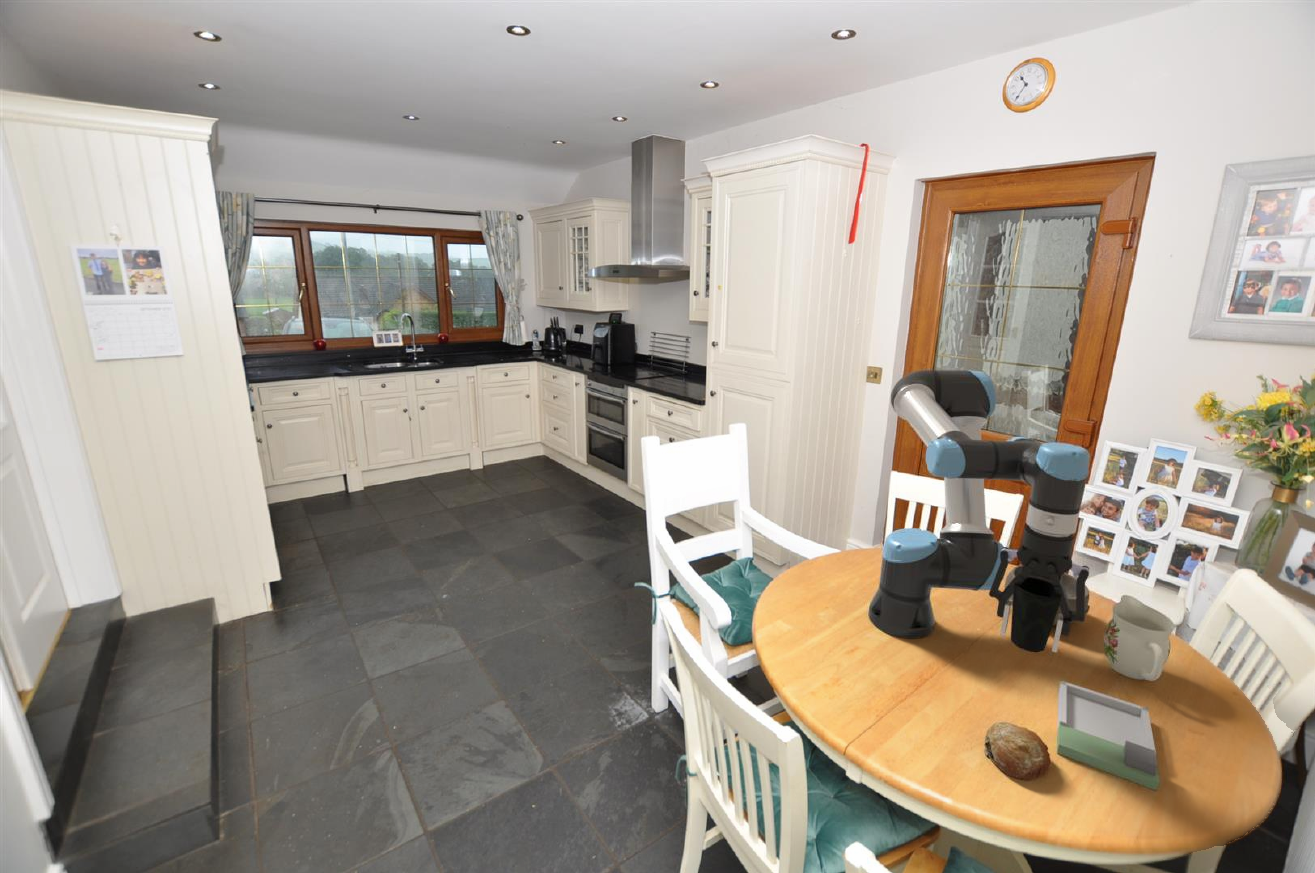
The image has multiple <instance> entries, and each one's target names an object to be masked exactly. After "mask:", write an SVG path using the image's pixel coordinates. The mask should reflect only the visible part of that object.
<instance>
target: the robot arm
mask: <svg viewBox="0 0 1315 873" xmlns="http://www.w3.org/2000/svg"><path fill="white" fill-rule="evenodd" d="M890 403H891V406H892V409H893V410H894V412H895V413H896V415H897V416H898V417H899V418H900V419H902V420H904V421H907V422H908V423H909V425H910V426H911V427H912V429H913V431H915V433H916V435H917V436H918V437H919V438H920V439H921V441H922V442H923V444H924V445H925V446H926V452H925V464H926V465H927V471H928V472H929V474H930V475H931V476H933V477H937V478H938V477H939V478H944V479H943V480H944V497H945V498H944V502H945V503H944V504H945V506H944V507H945V526H944V527H943V528H942V529H941V530H940V531H939V538H938V536H937V535H936V534H935V533H933V532H931V531H929V530H926V529H924V530H922V529H921V528H915V527H913V528H912V527H910V528H909V527H908V528H899V529H897V530H894V531H892V532H891V533H889V534H888V535H887V536H886V538H885V541H884V544H883V548H882V552H881V555H882V559H881V568H880V574H879V575H880V576H879V583H878V584H879V585H878V588H877V591H876V592H875V594H874V596H873V597H872V600H871V601H870V603H869V606H868V619H869V620H870V622H871V623H872V624H873V625H874V626H875V627H877V628H878V629H879V630H881V631H883V632H885V633H887V634H889V635H892V636H895V637H899V638H906V639H922V638H926V637H928V636H930V634H932V633H933V631H934V626H935V616H934V612H933V606H932V602H931V592H932V589H933V588H936V589H937V588H938V589H949V590H950V589H952V590H954V589H955V590H965V591H966V590H969V591H976V592H977V591H988V595H989V597H991V598H995V600H997V601H998V604H997V605H998V606H997V610H996V615H997V617H999V618H1001V619H1002V621H1001V625H1000V626H1001V627H1000V634H999V635H1000V636H1003V637H1005V636H1006V633H1007V628H1008V622H1009V617H1010V613H1011V607H1012V605H1011V602H1012V600H1010V599H1009V598H1010V597H1011V596H1012V594H1013V593H1014V584H1015V583H1016V584H1017V585H1018V586H1020V585H1021V584H1022V582H1023V581H1024V580H1025V579H1026V578H1027V577H1028V576H1029V575H1031V576H1035V577H1042V578H1044V579H1047V580H1050V579H1051V582H1052V585H1053V587H1054V590H1055V593H1056V596H1059V595H1061V599H1060V602H1059V606H1060V609H1061V612H1062V614H1059V617H1058V622H1057V625H1056V629H1055V633H1054V638H1053V642H1052V648H1051V652H1052V653H1053V652H1054V653H1055V654H1056V653H1057V652H1058V648H1059V643H1060V637H1061V636H1062V637H1068V636H1069V633H1070V628H1071V624H1072V623H1071V622H1072V621H1075V622H1079V623H1083V622H1085V619H1086V614H1085V585H1086V581H1087V580H1088V578H1089V576H1090V567H1089V566H1088V565H1082V566H1081V565H1079V564H1076V563H1074V562H1073V560H1072V558H1071V556H1072V552H1073V546H1074V541H1075V534H1076V531H1077V526H1078V522H1079V516H1080V510H1081V507H1082V501H1083V497H1084V493H1085V489H1086V483H1087V481H1088V480H1087V478H1088V476H1089V472H1090V469H1089V465H1090V459H1091V457H1090V456H1091V454H1090V452H1089V451H1088V450H1087V449H1086V448H1085V447H1082V446H1079V445H1075V444H1072V443H1064V442H1055V441H1054V442H1053V441H1052V442H1045V443H1042V442H1040V441H1037V440H1035V439H1033V438H1028V437H1025V436H1014V437H1011V438H1009V439H1007V440H985V439H984V440H983V439H982V431H981V429H982V428H983V427H984V425H986V424H987V423H988V417H990V416H992V415H993V414H994V412H995V410H996V404H997V390H996V386H995V383H994V381H993V380H992V378H991V377H990V376H989V375H988V374H987V373H986V372H984V371H980V370H979V371H978V370H971V369H970V370H969V369H964V370H963V369H962V370H956V369H953V370H952V369H951V370H950V369H949V370H947V369H920V370H915V371H912V372H909V373H908V374H905V375H904V376H903V377H901V378H900V379H899V380H898V381H897V382H896V383H895V385H894V387H893V388H892V390H891V394H890ZM984 480H995V481H996V480H1000V481H1021V482H1024V483H1025V484H1027V485H1028V486H1030V487H1031V490H1030V496H1029V502H1028V507H1027V513H1026V518H1025V523H1026V525H1025V526H1024V530H1023V534H1022V540H1021V546H1020V547H1019V548H1018V549H1010V548H1008V547H1007V546H1004V545H1003V544H1002V543H1001V542H1000V541H997V540H995V533H994V532H993V531H992V530H991V529H990V528H989V527H988V526H987V515H986V500H985V499H986V498H985V497H986V496H985V481H984ZM1014 558H1018V560H1019V561H1020V565H1023V567H1022V568H1021V570H1020V571H1019V572H1018V574H1017V575H1016V576H1015V577H1014V579H1013V580H1012V581H1011V582H1010V583H1009V585H1008V586H1007V587H1006V588H1005V587H1004V589H1003V590H1000V586H1001V584H1002V581H1003V579H1005V578H1004V577H1005V574H1006V571H1007V568H1008V565H1009V563H1010V562H1013V561H1014ZM1070 570H1071V571H1072V576H1073V577H1075V578H1076V579H1077V582H1076V611H1072V610H1071V607H1070V604H1069V601H1068V598H1067V594H1066V591H1065V588H1064V585H1063V581H1062V576H1061V575H1062V574H1064V573H1067V572H1068V571H1070Z"/></svg>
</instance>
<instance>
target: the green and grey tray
mask: <svg viewBox="0 0 1315 873" xmlns="http://www.w3.org/2000/svg"><path fill="white" fill-rule="evenodd" d="M1057 693H1058V694H1057V731H1056V732H1057V734H1056V735H1057V736H1056V737H1057V738H1056V754H1058V755H1061V756H1064V757H1066V758H1069V759H1072V760H1073V761H1076V762H1080V763H1082V764H1084V765H1087V766H1090V767H1092V768H1095V769H1097V770H1101V771H1102V772H1106V773H1108V774H1110V775H1114V776H1117V777H1118V778H1122V779H1124V780H1127V781H1129V782H1133V783H1135V784H1137V785H1140V786H1142V787H1145V788H1148V789H1150V790H1154V791H1156V792H1157V791H1158V789H1159V785H1160V783H1161V782H1160V776H1159V771H1158V768H1159V765H1158V760H1157V759H1158V758H1157V752H1156V746H1155V740H1154V735H1153V730H1152V725H1151V718H1150V714H1149V708H1148V707H1145V706H1142V705H1139V704H1135V703H1132V702H1129V701H1127V700H1122V699H1120V698H1117V697H1114V696H1110V695H1108V694H1104V693H1102V692H1098V691H1095V690H1092V689H1089V688H1085V687H1083V686H1079V685H1076V684H1073V683H1070V682H1067V681H1063V680H1060V682H1059V687H1058V692H1057Z"/></svg>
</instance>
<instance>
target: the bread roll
mask: <svg viewBox="0 0 1315 873" xmlns="http://www.w3.org/2000/svg"><path fill="white" fill-rule="evenodd" d="M1048 750H1049V747H1048V745H1047V744H1046V743H1045V742H1044V741H1043V740H1042V738H1041V737H1040V736H1039V735H1038V734H1037V733H1036V732H1034V731H1032V730H1031V729H1030V730H1029V729H1028V728H1026V727H1024V726H1020V725H1019V726H1018V725H1016V724H1013V723H1010V722H1007V721H999V722H998V721H997V722H995V723H994V724H992V725H990V727H989V728H988V730H987V731H986V734H985V737H984V749H983V753H984V755H985V756H986V757H988V759H989V760H991V761H992V763H993V764H994V765H995V766H997V767H998V768H999V769H1000V770H1001V771H1002V772H1003V773H1005V774H1007V775H1008V776H1010V777H1012V778H1013V779H1014V778H1015V779H1017V780H1023V781H1032V780H1035V779H1038V778H1040V777H1042V776H1044V775H1045V774H1046V773H1047V772H1048V771H1049V769H1050V764H1051V756H1050V755H1051V754H1050V753H1049V751H1048Z"/></svg>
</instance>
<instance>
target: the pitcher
mask: <svg viewBox="0 0 1315 873" xmlns="http://www.w3.org/2000/svg"><path fill="white" fill-rule="evenodd" d="M1175 628H1176V627H1175V623H1174V622H1173V620H1172V619H1171V618H1169V617H1168V616H1166V614H1164V613H1162V612H1160V611H1158V610H1157V609H1155V608H1153V607H1151V606H1150V605H1149V606H1148V605H1146V604H1144V602H1142V601H1140V600H1138V599H1137V598H1135V597H1134V596H1131V595H1128V594H1124V595H1122V596H1121V598H1120V601H1119V602H1117V603H1115V604H1114V605H1113V606H1112V617H1111V619H1110V620H1109V622H1108V623H1107V625H1106V627H1105V630H1104V633H1103V649H1104V654H1105V657H1106V659H1107V661H1108V663H1109V666H1110V667H1111V668H1112V669H1113V670H1114V671H1116V672H1117V673H1119V674H1121V675H1122V676H1125V677H1127V678H1130V679H1134V680H1142V681H1143V680H1146V681H1151V682H1153V681H1156V680H1158V679H1159V678H1160V677H1161V675H1162V672H1163V670H1164V669H1163V668H1164V665H1166V663H1167V661H1168V659H1169V656H1170V652H1171V639H1170V636H1171V634H1172V633H1173V631H1174V629H1175Z"/></svg>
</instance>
